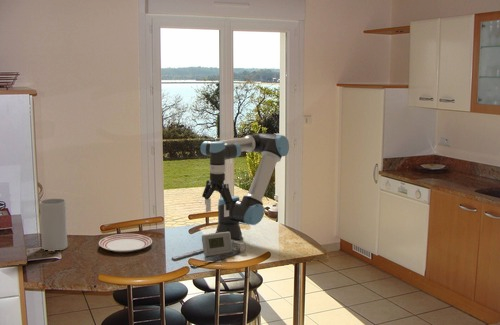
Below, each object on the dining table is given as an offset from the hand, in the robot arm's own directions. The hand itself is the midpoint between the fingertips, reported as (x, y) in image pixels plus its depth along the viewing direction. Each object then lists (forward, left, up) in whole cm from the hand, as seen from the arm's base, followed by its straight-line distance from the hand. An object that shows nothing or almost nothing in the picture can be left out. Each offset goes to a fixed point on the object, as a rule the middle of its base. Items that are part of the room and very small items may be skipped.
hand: (217, 213), depth 282 cm
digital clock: (+1, 0, -21) cm, 21 cm away
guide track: (0, -6, -21) cm, 21 cm away
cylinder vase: (-64, -56, -21) cm, 87 cm away
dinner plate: (-41, -28, -21) cm, 54 cm away
